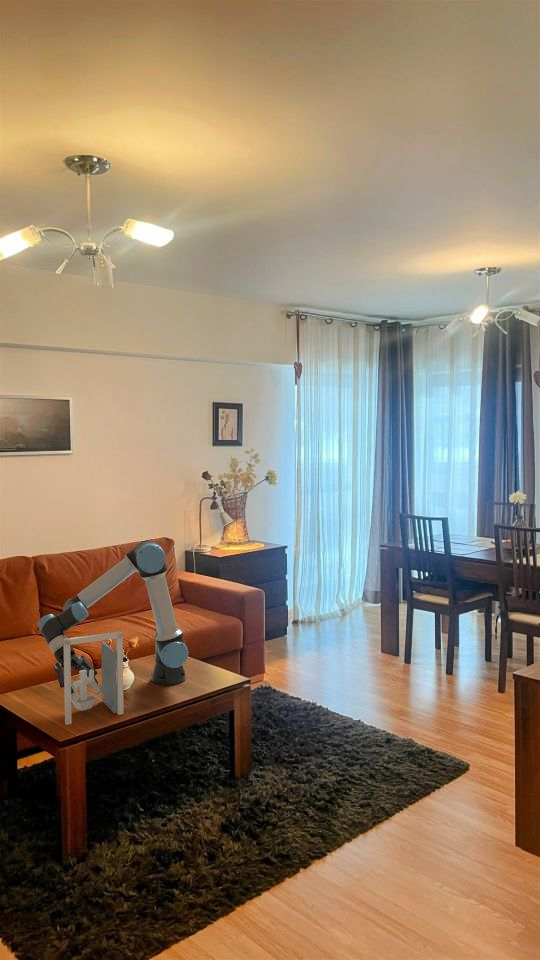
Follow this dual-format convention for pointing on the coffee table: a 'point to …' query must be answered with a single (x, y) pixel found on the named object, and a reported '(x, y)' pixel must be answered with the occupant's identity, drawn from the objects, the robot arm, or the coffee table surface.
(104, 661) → the door
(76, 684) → the figurine
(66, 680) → the door frame
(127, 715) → the coffee table surface
